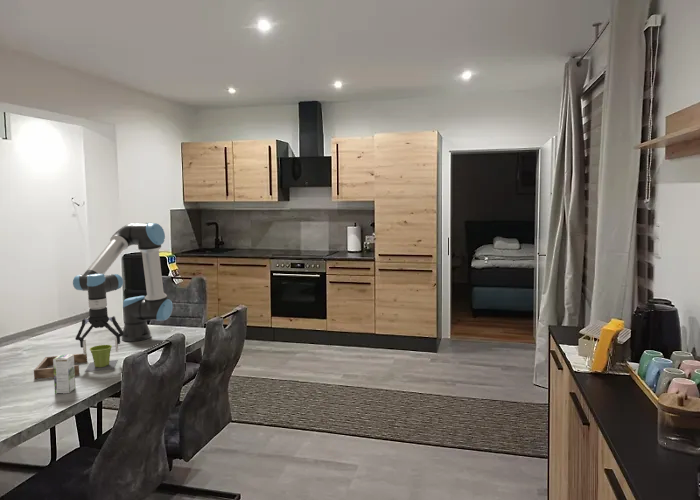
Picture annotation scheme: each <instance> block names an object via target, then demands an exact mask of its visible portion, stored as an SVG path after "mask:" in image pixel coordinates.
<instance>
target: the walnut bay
mask: <svg viewBox="0 0 700 500" xmlns="http://www.w3.org/2000/svg"><path fill="white" fill-rule="evenodd" d="M72 355H74V367H75V376H79V375H80V365H78V364H82V363H88V352H86V355H84V353H77V354H76V353H74V354H72ZM58 356H59V355H53V356H51V355H50V356H45V357H44V358H43V360H42V361H41V362H40V363H39V364H38V365H37V366H36V367H35V368H34V370H33V377H34V378H33V379H34V380H38V379H37V378H42V379H49V377H52V378H54V368H53V359H54V358H56V357H58ZM75 364H77V365H75ZM49 366H51V367H49Z"/></svg>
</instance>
